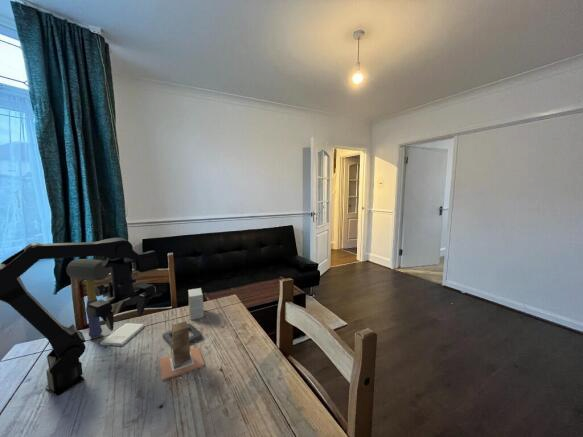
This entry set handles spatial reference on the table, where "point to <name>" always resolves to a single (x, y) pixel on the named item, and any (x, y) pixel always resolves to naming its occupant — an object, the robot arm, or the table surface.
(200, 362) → the pad
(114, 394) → the table surface
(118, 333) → the external hard drive
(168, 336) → the frame
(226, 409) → the table surface
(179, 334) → the walnut post
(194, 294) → the small box
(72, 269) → the rubber mallet
